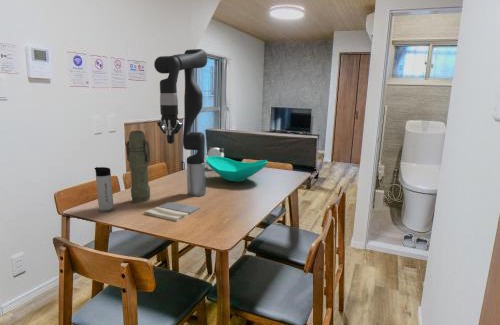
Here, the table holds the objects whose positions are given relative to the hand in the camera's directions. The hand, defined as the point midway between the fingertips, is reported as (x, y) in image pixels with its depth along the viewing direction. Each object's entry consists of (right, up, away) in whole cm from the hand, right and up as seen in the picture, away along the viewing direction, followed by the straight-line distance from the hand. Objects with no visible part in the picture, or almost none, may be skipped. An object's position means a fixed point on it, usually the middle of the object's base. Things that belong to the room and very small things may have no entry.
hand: (170, 143), depth 148 cm
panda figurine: (+11, -13, +90) cm, 92 cm away
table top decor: (+27, -20, +58) cm, 67 cm away
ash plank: (-1, -32, -2) cm, 32 cm away
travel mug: (-31, -31, +5) cm, 44 cm away
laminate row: (+3, -31, +5) cm, 31 cm away
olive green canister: (-19, -28, +18) cm, 38 cm away
